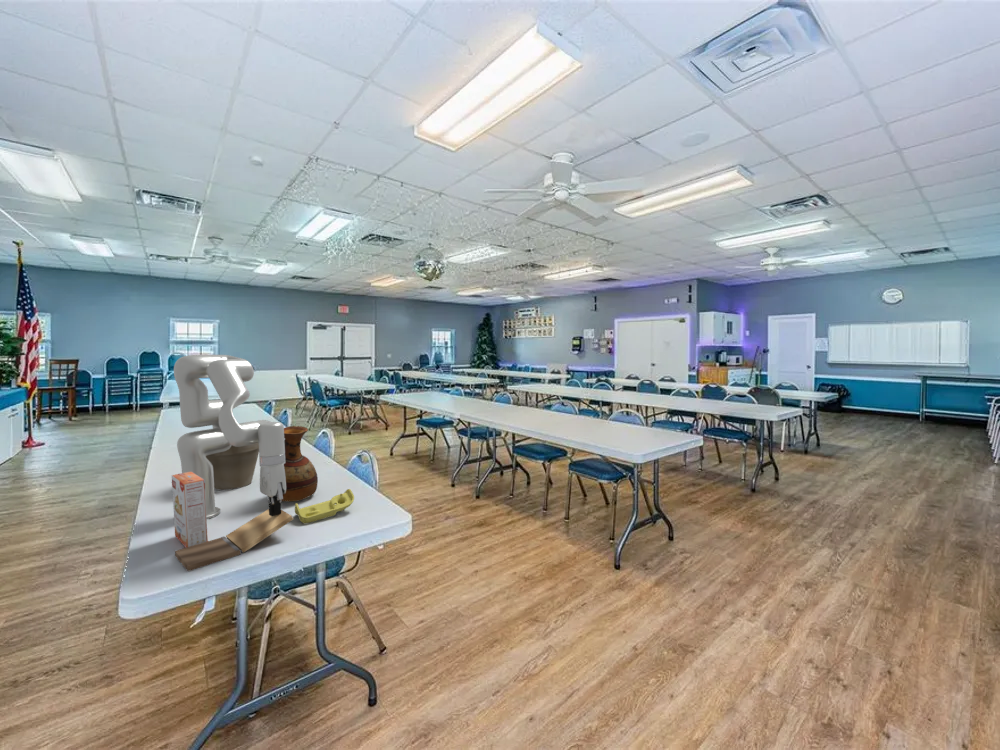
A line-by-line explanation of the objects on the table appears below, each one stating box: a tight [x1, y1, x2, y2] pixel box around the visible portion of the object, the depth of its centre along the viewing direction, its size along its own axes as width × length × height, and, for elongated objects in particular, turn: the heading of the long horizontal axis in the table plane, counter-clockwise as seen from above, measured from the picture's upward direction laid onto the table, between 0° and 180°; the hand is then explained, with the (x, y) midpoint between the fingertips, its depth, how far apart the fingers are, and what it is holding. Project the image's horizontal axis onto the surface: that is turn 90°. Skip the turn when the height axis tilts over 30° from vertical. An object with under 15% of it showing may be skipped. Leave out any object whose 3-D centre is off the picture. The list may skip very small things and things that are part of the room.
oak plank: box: [225, 508, 294, 553], centre depth 138 cm, size 16×14×2 cm
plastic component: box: [294, 488, 355, 524], centre depth 160 cm, size 20×7×10 cm
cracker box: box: [171, 472, 209, 548], centre depth 137 cm, size 14×6×21 cm, turn 50°
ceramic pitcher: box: [281, 425, 319, 503], centre depth 177 cm, size 20×20×30 cm
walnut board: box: [174, 536, 241, 572], centre depth 127 cm, size 14×13×2 cm
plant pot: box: [206, 443, 259, 491], centre depth 194 cm, size 25×25×22 cm
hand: (275, 514), depth 141 cm, fingers closed
